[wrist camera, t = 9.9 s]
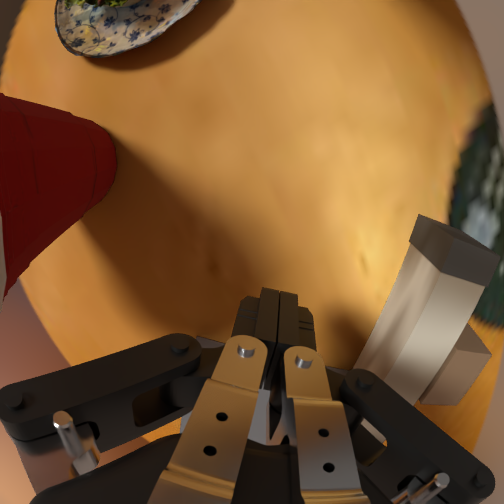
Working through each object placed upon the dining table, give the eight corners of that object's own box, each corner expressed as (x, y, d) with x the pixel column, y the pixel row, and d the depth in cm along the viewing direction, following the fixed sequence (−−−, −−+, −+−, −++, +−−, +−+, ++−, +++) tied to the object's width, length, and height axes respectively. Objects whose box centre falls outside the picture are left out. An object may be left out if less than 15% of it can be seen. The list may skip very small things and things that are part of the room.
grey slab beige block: (213, 243, 19) (182, 289, 13) (452, 304, 18) (492, 354, 13) (181, 439, 26) (165, 487, 21) (340, 468, 26) (343, 514, 20)
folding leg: (360, 419, 20) (368, 472, 16) (322, 415, 21) (326, 470, 16) (461, 230, 15) (510, 264, 10) (418, 213, 15) (464, 244, 10)
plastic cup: (12, 164, 18) (-111, 202, 7) (92, 54, 15) (-57, 22, 4) (84, 271, 20) (-29, 366, 9) (186, 173, 17) (39, 236, 6)
